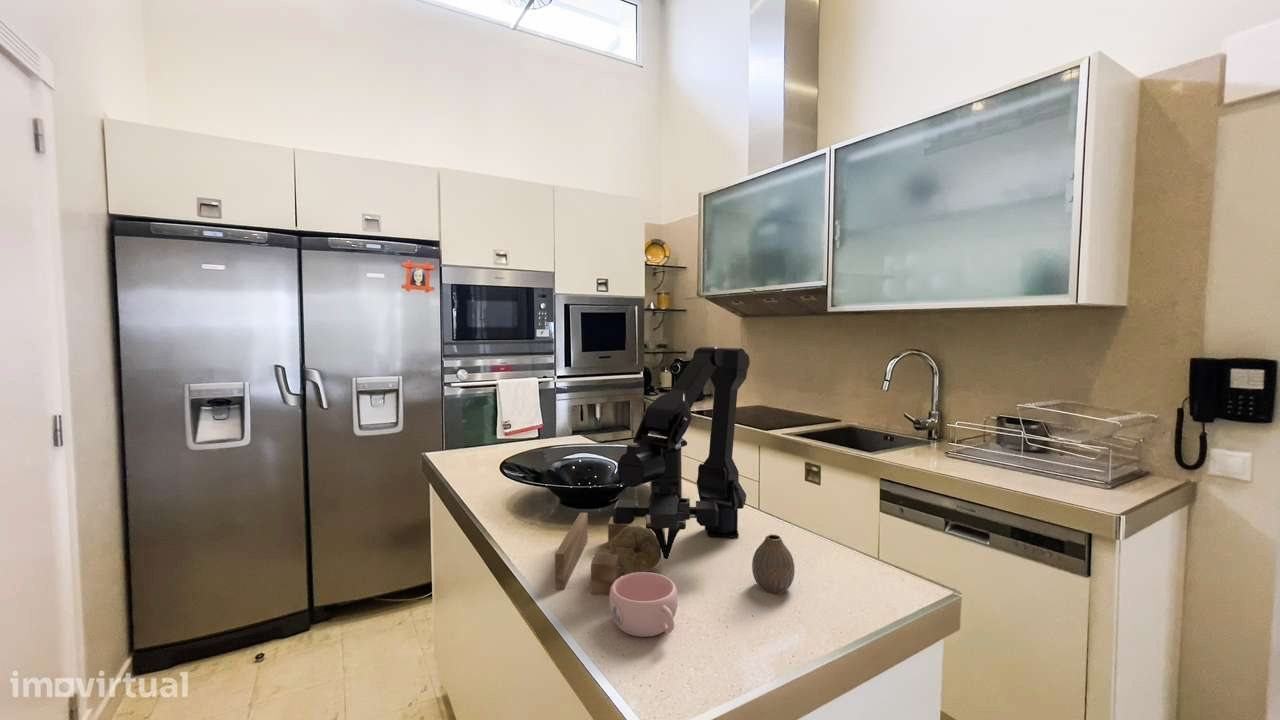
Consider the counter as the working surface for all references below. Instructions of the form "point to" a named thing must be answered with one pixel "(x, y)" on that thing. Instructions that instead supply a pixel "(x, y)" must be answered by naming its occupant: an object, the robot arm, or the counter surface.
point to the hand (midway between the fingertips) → (666, 558)
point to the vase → (773, 565)
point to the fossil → (636, 549)
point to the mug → (643, 603)
